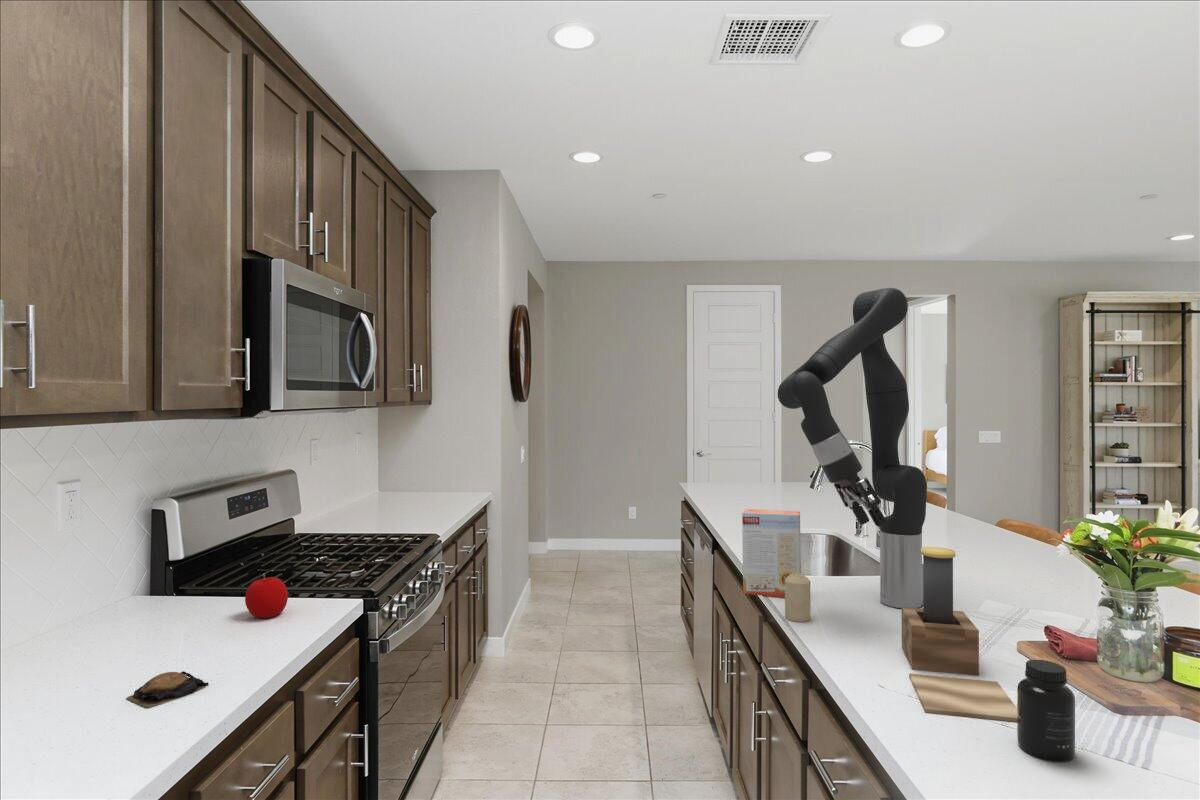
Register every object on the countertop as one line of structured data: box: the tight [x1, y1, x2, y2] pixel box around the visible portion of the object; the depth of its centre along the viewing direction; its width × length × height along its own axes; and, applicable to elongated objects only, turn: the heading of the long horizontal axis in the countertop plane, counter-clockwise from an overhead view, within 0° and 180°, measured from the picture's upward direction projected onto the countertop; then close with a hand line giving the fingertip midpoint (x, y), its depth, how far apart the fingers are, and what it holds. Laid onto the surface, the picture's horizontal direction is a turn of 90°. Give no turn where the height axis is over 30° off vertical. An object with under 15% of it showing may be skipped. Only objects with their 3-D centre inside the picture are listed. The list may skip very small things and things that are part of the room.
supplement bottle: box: [1016, 659, 1076, 763], centre depth 95 cm, size 7×7×12 cm
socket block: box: [901, 607, 980, 676], centre depth 128 cm, size 11×11×8 cm
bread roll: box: [126, 670, 210, 710], centre depth 116 cm, size 11×8×4 cm
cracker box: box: [741, 508, 802, 598], centre depth 171 cm, size 14×6×21 cm, turn 71°
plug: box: [921, 546, 956, 625], centre depth 128 cm, size 6×6×15 cm
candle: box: [784, 572, 812, 623], centre depth 152 cm, size 6×6×10 cm
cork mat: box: [908, 673, 1017, 723], centre depth 112 cm, size 14×14×1 cm
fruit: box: [244, 573, 289, 619], centre depth 156 cm, size 9×9×10 cm
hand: (873, 523), depth 146 cm, fingers open, 8 cm apart
